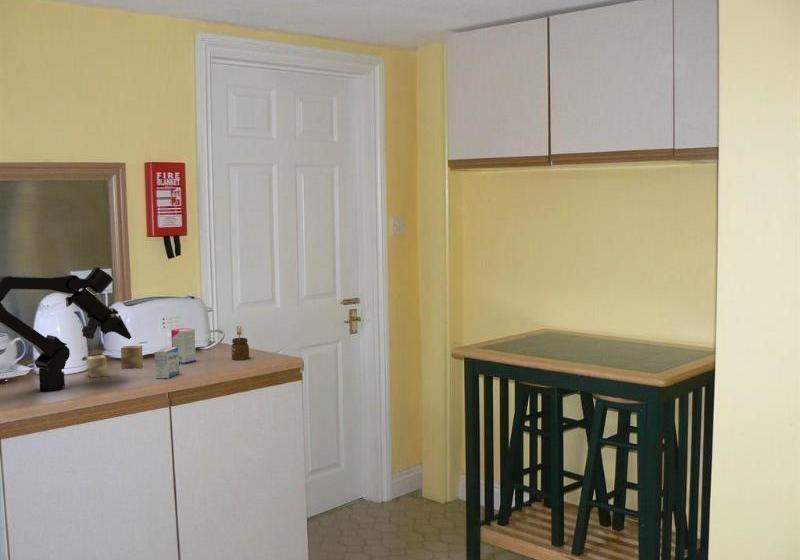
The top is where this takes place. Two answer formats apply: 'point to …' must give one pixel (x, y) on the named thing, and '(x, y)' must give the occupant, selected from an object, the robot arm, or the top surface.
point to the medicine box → (167, 362)
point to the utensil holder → (240, 347)
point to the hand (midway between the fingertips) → (130, 338)
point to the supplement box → (184, 344)
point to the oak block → (131, 357)
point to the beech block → (97, 366)
